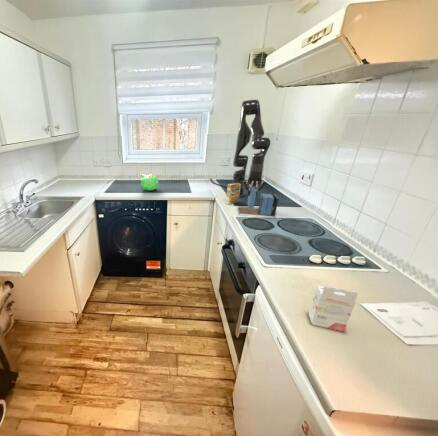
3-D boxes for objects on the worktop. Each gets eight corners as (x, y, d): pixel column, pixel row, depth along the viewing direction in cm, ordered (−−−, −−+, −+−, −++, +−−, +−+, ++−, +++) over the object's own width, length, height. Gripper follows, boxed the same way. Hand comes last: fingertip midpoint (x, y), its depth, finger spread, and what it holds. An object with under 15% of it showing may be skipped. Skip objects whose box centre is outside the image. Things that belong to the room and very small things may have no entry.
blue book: (248, 207, 158) (251, 190, 153) (247, 203, 166) (249, 186, 161) (253, 208, 157) (256, 190, 152) (251, 203, 165) (254, 187, 160)
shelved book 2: (263, 210, 165) (266, 193, 160) (267, 210, 164) (271, 194, 159) (265, 215, 157) (268, 197, 152) (270, 215, 156) (274, 198, 151)
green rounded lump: (158, 192, 209) (159, 176, 204) (139, 192, 210) (139, 176, 204) (158, 187, 226) (158, 172, 220) (140, 187, 226) (140, 172, 221)
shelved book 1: (258, 209, 166) (261, 193, 161) (262, 210, 165) (265, 193, 160) (260, 214, 158) (263, 197, 153) (265, 214, 157) (268, 197, 152)
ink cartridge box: (338, 320, 76) (353, 283, 70) (344, 332, 72) (360, 293, 66) (307, 313, 79) (319, 276, 73) (311, 324, 75) (324, 286, 69)
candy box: (228, 204, 179) (231, 185, 173) (225, 203, 183) (227, 183, 177) (238, 203, 181) (241, 184, 175) (234, 201, 185) (237, 182, 179)
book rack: (237, 208, 170) (240, 191, 165) (271, 211, 165) (274, 193, 160) (239, 215, 160) (242, 196, 155) (274, 218, 154) (279, 199, 149)
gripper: (267, 169, 154) (262, 195, 160) (244, 168, 157) (240, 193, 164) (269, 171, 147) (264, 198, 154) (245, 170, 150) (241, 196, 157)
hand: (252, 195), depth 159 cm, fingers closed on blue book, 3 cm apart
